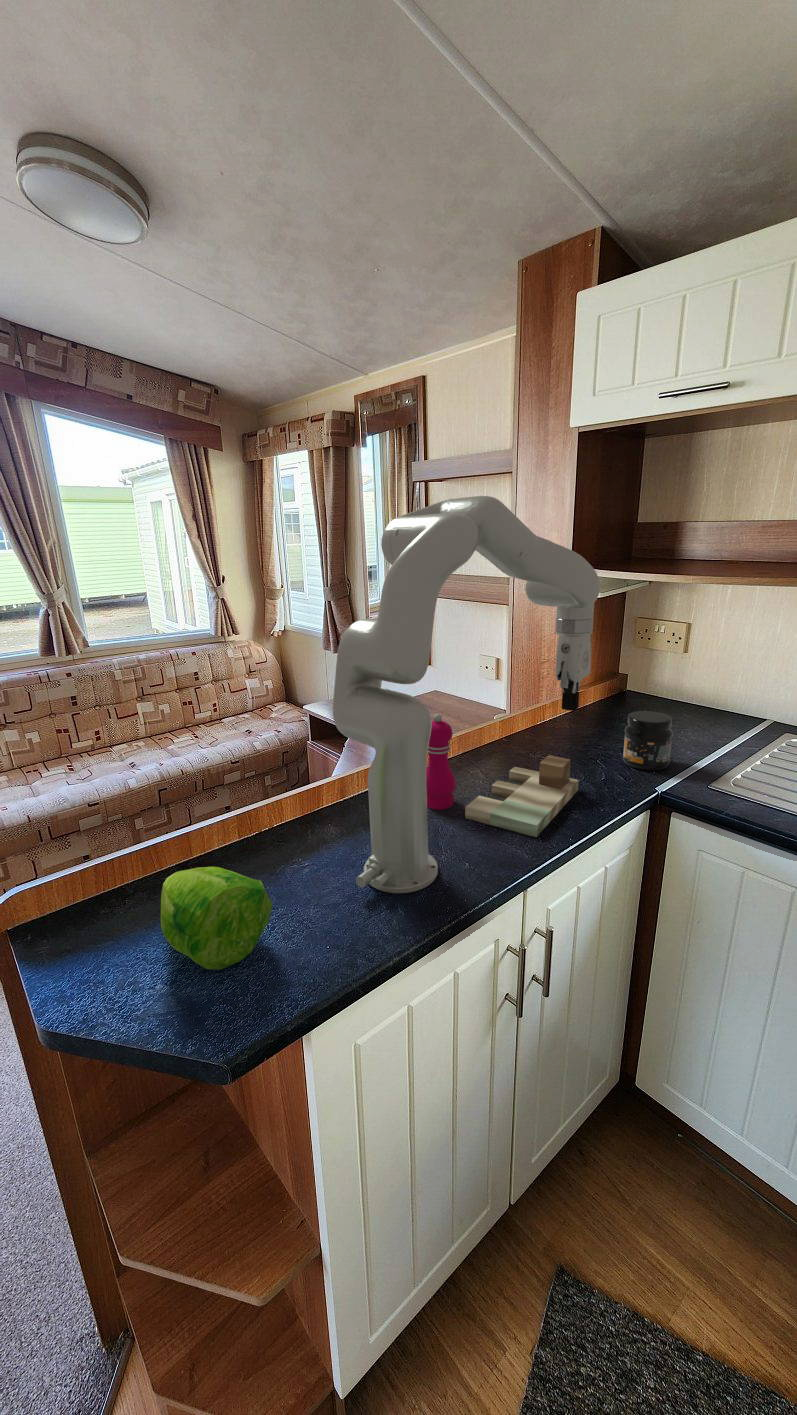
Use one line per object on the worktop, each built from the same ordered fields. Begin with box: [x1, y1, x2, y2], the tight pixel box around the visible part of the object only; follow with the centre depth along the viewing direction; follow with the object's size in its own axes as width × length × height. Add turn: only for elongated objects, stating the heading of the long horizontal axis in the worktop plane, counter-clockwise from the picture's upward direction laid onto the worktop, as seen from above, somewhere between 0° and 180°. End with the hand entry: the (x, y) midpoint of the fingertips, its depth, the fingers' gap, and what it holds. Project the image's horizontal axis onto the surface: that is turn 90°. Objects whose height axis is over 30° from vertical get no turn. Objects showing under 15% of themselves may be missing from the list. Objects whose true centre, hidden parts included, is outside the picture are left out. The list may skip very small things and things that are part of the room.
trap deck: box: [464, 766, 579, 838], centre depth 120 cm, size 24×15×2 cm, turn 145°
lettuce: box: [160, 866, 274, 971], centre depth 80 cm, size 14×20×12 cm
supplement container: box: [622, 710, 674, 772], centre depth 137 cm, size 10×10×12 cm
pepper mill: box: [426, 713, 457, 811], centre depth 119 cm, size 7×7×20 cm
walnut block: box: [538, 755, 571, 789], centre depth 123 cm, size 5×5×5 cm
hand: (569, 709), depth 126 cm, fingers closed
